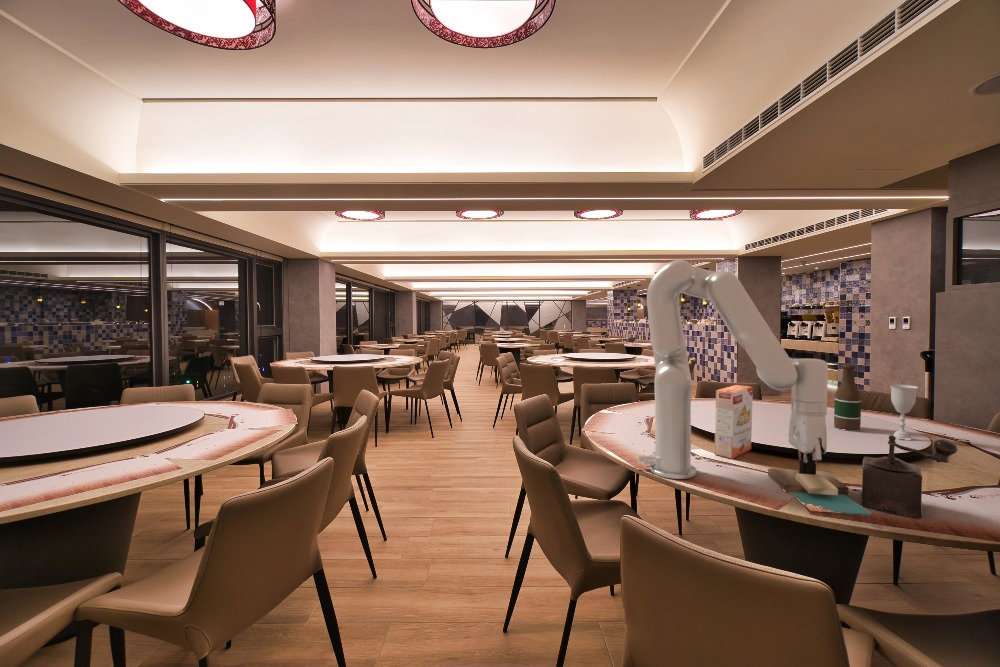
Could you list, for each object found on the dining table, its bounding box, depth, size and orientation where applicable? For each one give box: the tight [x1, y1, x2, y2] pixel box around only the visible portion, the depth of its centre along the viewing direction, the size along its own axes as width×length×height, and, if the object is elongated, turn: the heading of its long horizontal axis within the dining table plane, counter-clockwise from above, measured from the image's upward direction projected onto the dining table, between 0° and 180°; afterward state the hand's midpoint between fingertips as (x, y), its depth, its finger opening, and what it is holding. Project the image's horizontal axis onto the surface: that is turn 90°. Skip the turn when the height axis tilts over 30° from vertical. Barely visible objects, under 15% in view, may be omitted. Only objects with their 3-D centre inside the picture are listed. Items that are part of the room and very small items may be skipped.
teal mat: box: [790, 492, 872, 516], centre depth 105 cm, size 12×10×1 cm
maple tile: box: [795, 474, 838, 495], centre depth 109 cm, size 6×8×2 cm
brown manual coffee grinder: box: [860, 434, 959, 519], centre depth 101 cm, size 16×11×18 cm
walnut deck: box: [767, 468, 850, 497], centre depth 115 cm, size 14×11×2 cm
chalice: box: [889, 384, 919, 438], centre depth 151 cm, size 7×7×18 cm
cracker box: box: [714, 384, 754, 460], centre depth 141 cm, size 14×6×21 cm, turn 129°
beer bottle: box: [833, 363, 862, 431], centre depth 164 cm, size 8×8×24 cm
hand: (807, 476), depth 115 cm, fingers closed
